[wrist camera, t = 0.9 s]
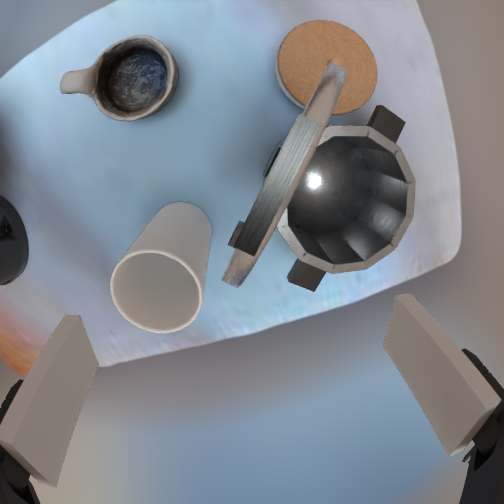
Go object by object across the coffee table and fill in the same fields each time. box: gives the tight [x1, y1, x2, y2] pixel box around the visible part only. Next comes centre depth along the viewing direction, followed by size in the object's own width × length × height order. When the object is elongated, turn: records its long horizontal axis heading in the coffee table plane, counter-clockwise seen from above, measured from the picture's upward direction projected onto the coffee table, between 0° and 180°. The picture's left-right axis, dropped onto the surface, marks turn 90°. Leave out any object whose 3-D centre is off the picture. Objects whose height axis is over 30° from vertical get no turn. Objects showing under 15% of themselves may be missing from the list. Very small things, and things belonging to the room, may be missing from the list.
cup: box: [110, 202, 212, 333], centre depth 32 cm, size 8×8×16 cm
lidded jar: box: [276, 20, 377, 115], centre depth 28 cm, size 11×11×9 cm
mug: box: [60, 35, 179, 121], centre depth 27 cm, size 10×12×10 cm
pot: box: [263, 105, 416, 292], centre depth 33 cm, size 16×21×10 cm
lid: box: [221, 61, 347, 288], centre depth 18 cm, size 17×15×2 cm
